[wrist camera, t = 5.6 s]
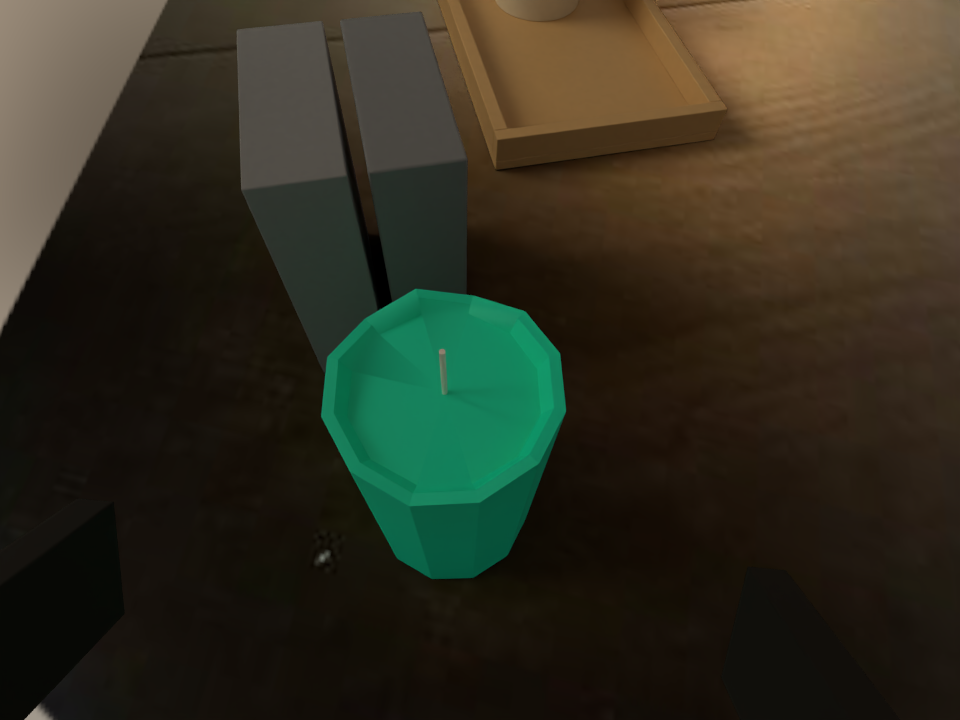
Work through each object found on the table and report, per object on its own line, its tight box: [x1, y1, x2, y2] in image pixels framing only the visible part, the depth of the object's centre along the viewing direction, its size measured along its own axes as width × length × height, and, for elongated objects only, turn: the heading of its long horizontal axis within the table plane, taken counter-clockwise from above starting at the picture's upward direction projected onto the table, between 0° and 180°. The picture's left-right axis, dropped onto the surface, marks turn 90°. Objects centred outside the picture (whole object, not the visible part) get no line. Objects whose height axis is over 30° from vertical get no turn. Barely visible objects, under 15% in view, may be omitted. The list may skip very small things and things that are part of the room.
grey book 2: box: [340, 12, 468, 302], centre depth 23 cm, size 8×3×11 cm, turn 13°
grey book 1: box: [237, 21, 381, 373], centre depth 23 cm, size 8×3×11 cm, turn 13°
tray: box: [438, 0, 727, 170], centre depth 39 cm, size 28×14×2 cm, turn 13°
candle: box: [321, 289, 566, 579], centre depth 18 cm, size 6×6×12 cm
